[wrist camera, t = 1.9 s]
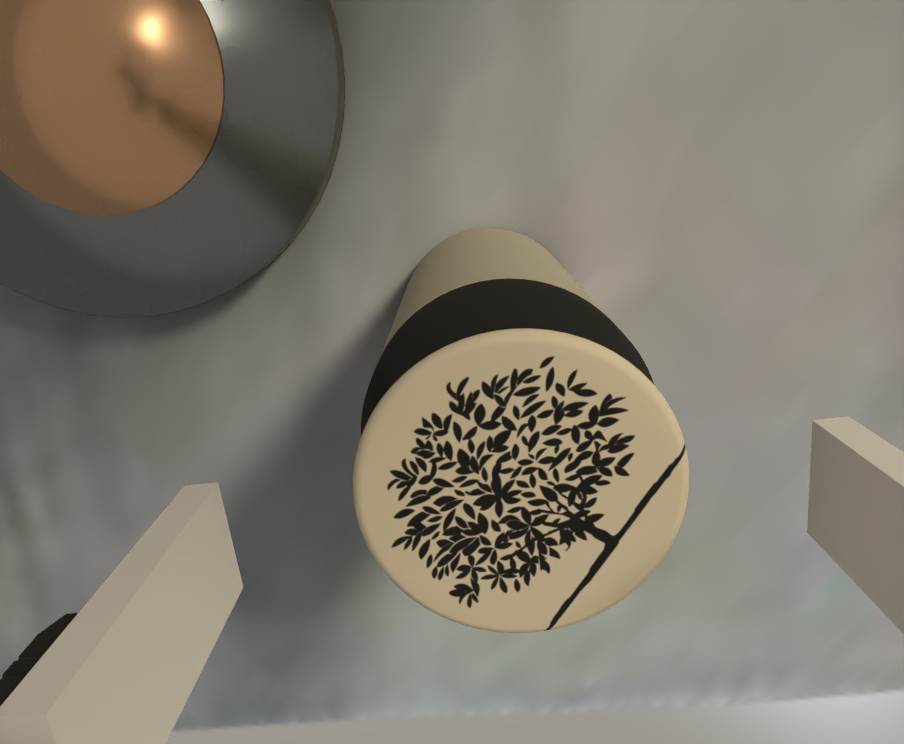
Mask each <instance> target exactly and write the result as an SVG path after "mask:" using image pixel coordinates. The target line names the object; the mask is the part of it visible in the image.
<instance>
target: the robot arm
mask: <svg viewBox="0 0 904 744" xmlns="http://www.w3.org/2000/svg"><path fill="white" fill-rule="evenodd" d="M807 532H808V534H809V535H810V536H811V537H812V538H813V539H814V540H815V541H816V542H817V543H818V544H819V545H820V546H821V547H822V548H823V549H824V550H825V551H826V553H827V554H828V555H829V556H830V557H831V558H832V559H833V560H834V561H835V562H836V563H837V564H838V565H839V566H840V567H841V568H842V569H843V570H844V572H845V573H846V574H847V575H848V576H849V577H850V578H851V579H852V580H853V581H854V582H855V583H856V584H857V585H858V586H859V587H860V588H861V589H862V591H863V592H864V593H865V594H866V595H867V596H868V597H869V598H870V599H871V600H872V601H873V602H874V603H875V604H876V605H877V606H878V607H879V608H880V610H881V611H882V612H883V613H884V614H885V615H886V616H887V617H888V618H889V619H890V620H891V621H892V622H893V623H894V624H895V625H896V626H897V627H898V629H899V630H900V631H901V632H902V633H903V634H904V452H902V451H901V450H899V449H898V448H896V447H894V446H893V445H891V444H890V443H888V442H887V441H885V440H884V439H882V438H881V437H879V436H878V435H876V434H874V433H873V432H871V431H870V430H868V429H867V428H865V427H864V426H862V425H861V424H859V423H858V422H856V421H854V420H853V419H851V418H850V417H841V418H831V419H821V420H813V422H812V444H811V465H810V486H809V507H808V528H807ZM242 589H243V583H242V579H241V575H240V571H239V567H238V563H237V559H236V555H235V551H234V546H233V542H232V538H231V534H230V530H229V526H228V522H227V518H226V513H225V509H224V505H223V501H222V497H221V493H220V489H219V485H218V482H216V483H206V484H196V485H187V486H184V487H183V488H182V489H181V491H180V492H179V493H178V494H177V495H176V497H175V498H174V499H173V500H172V501H171V503H170V504H169V505H168V506H167V507H166V509H165V510H164V511H163V512H162V513H161V514H160V516H159V517H158V518H157V519H156V520H155V522H154V523H153V524H152V525H151V526H150V528H149V529H148V530H147V531H146V532H145V534H144V535H143V536H142V537H141V538H140V540H139V541H138V542H137V543H136V544H135V546H134V547H133V548H132V549H131V550H130V552H129V553H128V554H127V555H126V556H125V558H124V559H123V560H122V561H121V562H120V564H119V565H118V566H117V567H116V568H115V570H114V571H113V572H112V573H111V574H110V576H109V577H108V578H107V579H106V580H105V582H104V583H103V584H102V585H101V586H100V588H99V589H98V590H97V591H96V592H95V594H94V595H93V596H92V597H91V598H90V600H89V601H88V602H87V603H86V604H85V606H84V607H83V608H82V609H81V610H80V612H79V613H73V614H66V615H64V616H63V617H62V618H60V619H59V620H57V621H56V622H55V623H53V624H52V625H50V626H49V627H48V628H46V629H45V630H44V631H42V632H41V633H39V634H38V635H37V636H36V637H35V639H34V640H33V641H32V642H31V643H30V644H29V645H28V647H27V648H26V649H25V650H24V651H23V652H22V653H21V654H20V656H19V660H18V661H14V662H13V664H12V665H11V666H10V667H9V668H8V669H7V670H6V671H5V673H4V674H3V677H2V679H0V744H166V742H167V740H168V738H169V736H170V734H171V732H172V730H173V728H174V726H175V724H176V722H177V720H178V718H179V716H180V714H181V712H182V710H183V708H184V706H185V704H186V702H187V700H188V698H189V696H190V694H191V692H192V690H193V688H194V686H195V684H196V682H197V680H198V678H199V676H200V674H201V672H202V670H203V668H204V666H205V664H206V662H207V660H208V658H209V656H210V654H211V652H212V650H213V648H214V645H215V643H216V641H217V639H218V637H219V635H220V633H221V631H222V629H223V627H224V625H225V623H226V621H227V619H228V617H229V615H230V613H231V611H232V609H233V607H234V605H235V603H236V601H237V599H238V597H239V595H240V593H241V591H242Z"/></svg>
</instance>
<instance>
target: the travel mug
mask: <svg viewBox="0 0 904 744" xmlns="http://www.w3.org/2000/svg"><path fill="white" fill-rule="evenodd" d="M688 489H689V465H688V456H687V451H686V446H685V442H684V438H683V435H682V432H681V430H680V427H679V424H678V422H677V420H676V418H675V416H674V414H673V412H672V410H671V408H670V406H669V405H668V403H667V402H666V400H665V398H664V397H663V395H662V394H661V393H660V392H659V390H658V389H657V388H656V387H655V385H654V383H653V380H652V378H651V375H650V373H649V371H648V368H647V366H646V365H645V363H644V361H643V359H642V357H641V356H640V354H639V353H638V351H637V350H636V349H635V347H634V346H633V344H632V343H631V342H630V341H629V340H628V339H627V337H626V336H625V335H624V334H623V333H622V332H621V331H620V330H619V329H618V327H617V326H616V325H615V324H614V323H613V322H612V321H611V320H610V319H609V318H608V316H607V315H606V314H605V313H604V312H603V311H602V310H601V309H600V308H599V307H598V305H597V304H596V303H595V302H594V301H593V300H592V299H591V298H590V297H589V296H588V294H587V293H586V292H585V291H584V290H583V289H582V288H581V287H580V286H579V285H578V283H577V282H576V281H575V280H574V279H573V278H572V277H571V276H570V275H569V273H568V272H567V271H566V270H565V269H564V268H563V267H562V266H561V265H560V264H559V262H558V261H557V260H556V259H555V258H554V257H553V256H552V255H551V254H550V253H549V252H548V251H547V250H546V249H545V248H544V247H543V246H541V245H540V244H539V243H537V242H536V241H534V240H532V239H531V238H529V237H527V236H525V235H522V234H520V233H517V232H514V231H510V230H506V229H499V228H479V229H473V230H469V231H465V232H462V233H459V234H456V235H454V236H452V237H450V238H448V239H446V240H444V241H443V242H441V243H440V244H438V245H437V246H436V247H434V248H433V249H432V250H431V251H430V252H429V253H428V254H427V255H426V256H425V257H424V258H423V259H422V260H421V262H420V263H419V265H418V266H417V267H416V269H415V271H414V273H413V274H412V276H411V279H410V281H409V283H408V286H407V288H406V291H405V294H404V296H403V299H402V301H401V304H400V306H399V309H398V312H397V314H396V317H395V319H394V322H393V325H392V327H391V330H390V332H389V335H388V338H387V340H386V343H385V345H384V348H383V350H382V353H381V356H380V358H379V361H378V363H377V366H376V369H375V371H374V374H373V376H372V379H371V381H370V384H369V387H368V390H367V393H366V397H365V401H364V406H363V411H362V420H361V438H360V441H359V445H358V449H357V452H356V457H355V463H354V470H353V498H354V505H355V511H356V516H357V520H358V523H359V527H360V530H361V532H362V535H363V537H364V540H365V542H366V544H367V546H368V548H369V550H370V552H371V554H372V555H373V557H374V559H375V560H376V561H377V563H378V564H379V566H380V567H381V569H382V570H383V571H384V572H385V574H386V575H387V576H388V577H389V578H390V580H391V581H392V582H393V583H394V584H395V585H397V586H398V587H399V588H400V589H401V590H402V591H403V592H404V593H405V594H407V595H408V596H409V597H410V598H412V599H413V600H414V601H416V602H417V603H419V604H420V605H422V606H423V607H425V608H426V609H428V610H430V611H432V612H434V613H436V614H437V615H440V616H442V617H444V618H446V619H449V620H451V621H454V622H457V623H460V624H463V625H466V626H470V627H474V628H478V629H483V630H489V631H495V632H508V633H526V632H538V631H545V630H551V629H557V628H560V627H564V626H568V625H572V624H575V623H578V622H581V621H583V620H586V619H588V618H591V617H593V616H595V615H597V614H599V613H601V612H603V611H605V610H607V609H609V608H610V607H612V606H614V605H615V604H617V603H618V602H620V601H621V600H623V599H624V598H626V597H627V596H628V595H629V594H631V593H632V592H633V591H634V590H636V589H637V588H638V587H639V586H640V585H641V584H642V583H643V582H644V581H645V580H646V579H647V578H648V577H649V576H650V575H651V574H652V572H653V571H654V570H655V569H656V568H657V567H658V565H659V564H660V562H661V561H662V560H663V558H664V557H665V555H666V554H667V552H668V550H669V549H670V547H671V545H672V543H673V542H674V539H675V537H676V535H677V533H678V531H679V528H680V525H681V522H682V519H683V516H684V513H685V508H686V504H687V499H688Z"/></svg>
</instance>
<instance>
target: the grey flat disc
mask: <svg viewBox="0 0 904 744" xmlns="http://www.w3.org/2000/svg"><path fill="white" fill-rule="evenodd" d="M344 99H345V78H344V67H343V56H342V48H341V43H340V38H339V34H338V29H337V24H336V20H335V15H334V12H333V9H332V6H331V3H330V0H0V283H1V284H2V285H4V286H6V287H8V288H10V289H12V290H14V291H17V292H19V293H21V294H23V295H25V296H27V297H30V298H32V299H34V300H37V301H40V302H43V303H46V304H49V305H52V306H55V307H58V308H61V309H65V310H70V311H75V312H79V313H84V314H89V315H96V316H109V317H121V318H123V317H145V316H155V315H160V314H166V313H171V312H177V311H181V310H184V309H187V308H190V307H193V306H196V305H199V304H202V303H205V302H207V301H209V300H211V299H213V298H215V297H217V296H220V295H222V294H224V293H226V292H228V291H230V290H232V289H233V288H235V287H237V286H238V285H240V284H242V283H243V282H245V281H246V280H248V279H249V278H251V277H252V276H254V275H255V274H257V273H258V272H259V271H261V270H262V269H264V268H265V267H267V266H268V265H269V264H270V263H271V262H272V261H273V260H274V259H276V258H277V257H278V256H279V255H280V254H281V253H282V252H283V251H284V250H285V249H286V248H287V247H288V246H289V245H290V244H291V242H292V241H293V240H294V239H295V238H296V236H297V235H298V234H299V233H300V231H301V230H302V229H303V228H304V226H305V225H306V223H307V222H308V220H309V218H310V217H311V215H312V213H313V212H314V210H315V208H316V207H317V205H318V204H319V202H320V199H321V197H322V195H323V193H324V190H325V188H326V186H327V183H328V181H329V179H330V177H331V173H332V170H333V167H334V163H335V160H336V156H337V153H338V149H339V145H340V138H341V132H342V125H343V119H344Z"/></svg>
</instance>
